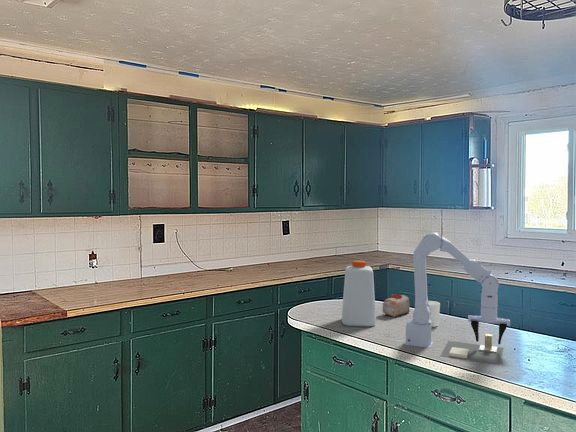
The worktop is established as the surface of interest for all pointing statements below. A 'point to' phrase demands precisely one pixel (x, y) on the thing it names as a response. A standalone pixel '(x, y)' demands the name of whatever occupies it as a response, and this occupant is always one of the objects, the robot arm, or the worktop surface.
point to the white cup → (434, 312)
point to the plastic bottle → (359, 295)
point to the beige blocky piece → (488, 345)
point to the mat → (474, 353)
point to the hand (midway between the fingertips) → (488, 342)
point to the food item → (396, 305)
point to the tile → (459, 352)
